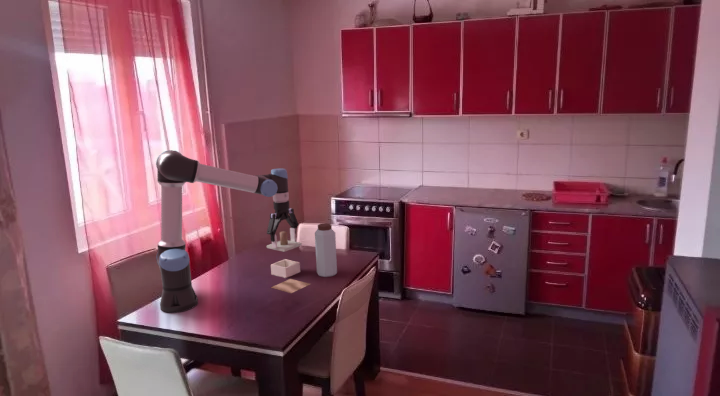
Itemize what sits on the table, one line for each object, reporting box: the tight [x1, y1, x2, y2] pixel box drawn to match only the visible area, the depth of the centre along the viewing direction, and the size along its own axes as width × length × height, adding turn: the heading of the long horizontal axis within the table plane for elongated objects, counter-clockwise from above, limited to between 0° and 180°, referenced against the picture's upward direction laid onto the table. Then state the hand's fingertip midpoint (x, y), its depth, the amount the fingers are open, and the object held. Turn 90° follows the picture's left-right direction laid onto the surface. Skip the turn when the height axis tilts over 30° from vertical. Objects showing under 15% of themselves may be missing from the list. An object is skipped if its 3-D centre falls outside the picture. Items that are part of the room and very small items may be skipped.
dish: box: [270, 258, 301, 279], centre depth 249 cm, size 10×10×6 cm
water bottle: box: [314, 222, 338, 278], centre depth 244 cm, size 10×10×25 cm
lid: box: [266, 230, 303, 253], centre depth 246 cm, size 12×12×7 cm
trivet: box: [270, 278, 311, 294], centre depth 233 cm, size 13×13×1 cm
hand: (284, 244), depth 246 cm, fingers closed on lid, 12 cm apart
